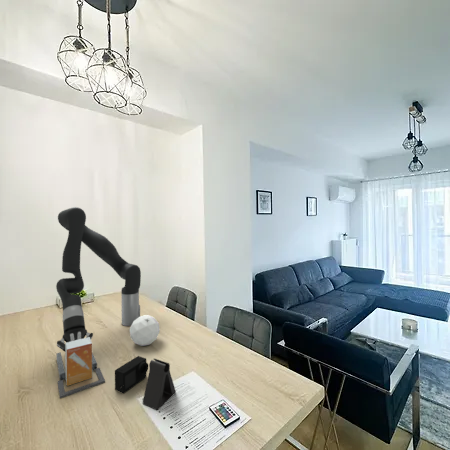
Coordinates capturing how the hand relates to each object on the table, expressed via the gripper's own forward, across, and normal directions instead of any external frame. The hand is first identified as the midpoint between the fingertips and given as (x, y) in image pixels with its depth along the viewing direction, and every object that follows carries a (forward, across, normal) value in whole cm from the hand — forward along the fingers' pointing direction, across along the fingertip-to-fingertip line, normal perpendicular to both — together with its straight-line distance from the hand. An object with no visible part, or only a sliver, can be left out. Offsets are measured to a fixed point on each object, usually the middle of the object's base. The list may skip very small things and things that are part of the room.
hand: (77, 361), depth 95 cm
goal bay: (+7, 0, -1) cm, 8 cm away
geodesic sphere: (-2, +28, +9) cm, 30 cm away
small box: (+6, 0, +1) cm, 6 cm away
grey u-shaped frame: (-2, 0, +8) cm, 9 cm away
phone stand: (+25, +20, -19) cm, 37 cm away
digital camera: (+16, +15, -10) cm, 24 cm away
